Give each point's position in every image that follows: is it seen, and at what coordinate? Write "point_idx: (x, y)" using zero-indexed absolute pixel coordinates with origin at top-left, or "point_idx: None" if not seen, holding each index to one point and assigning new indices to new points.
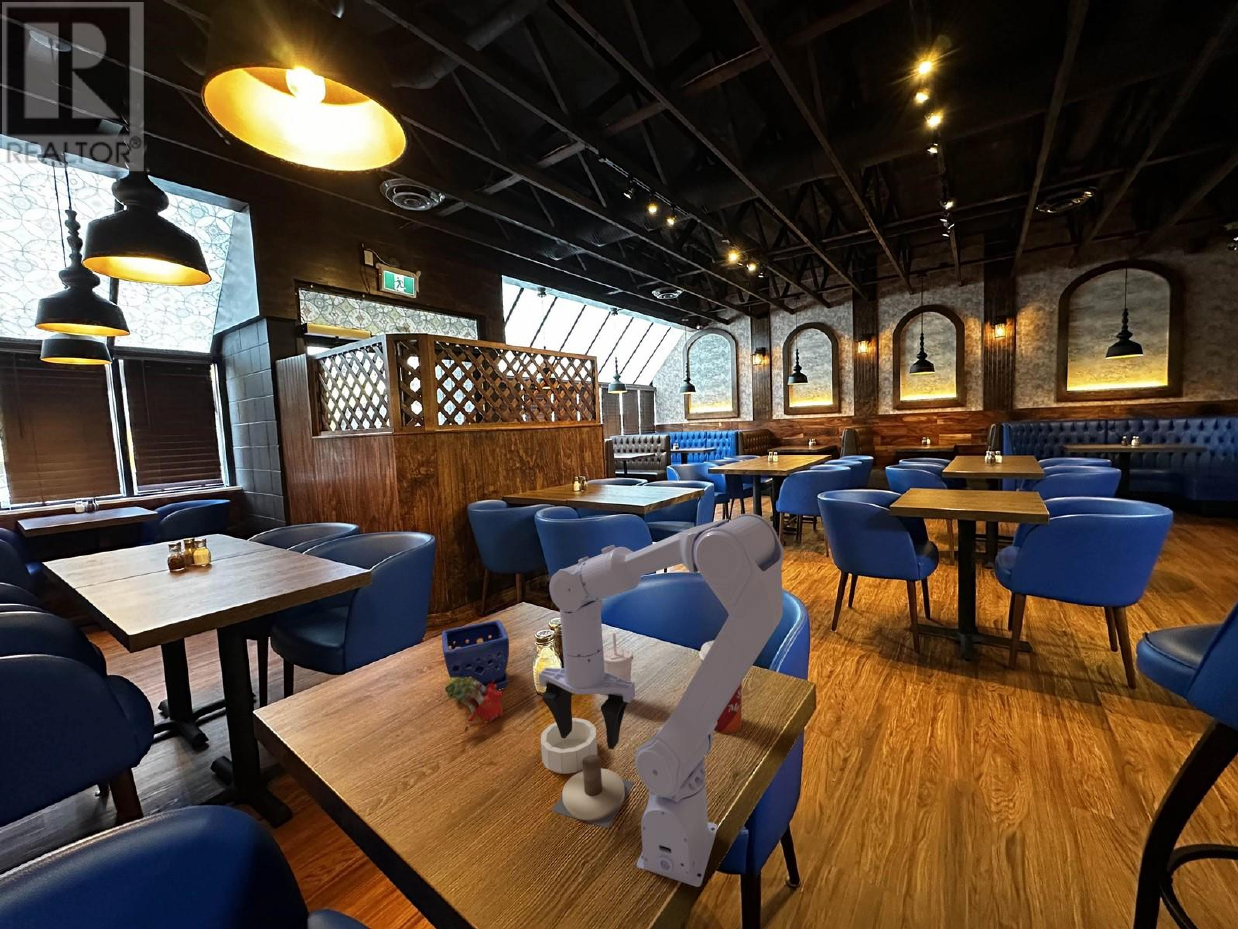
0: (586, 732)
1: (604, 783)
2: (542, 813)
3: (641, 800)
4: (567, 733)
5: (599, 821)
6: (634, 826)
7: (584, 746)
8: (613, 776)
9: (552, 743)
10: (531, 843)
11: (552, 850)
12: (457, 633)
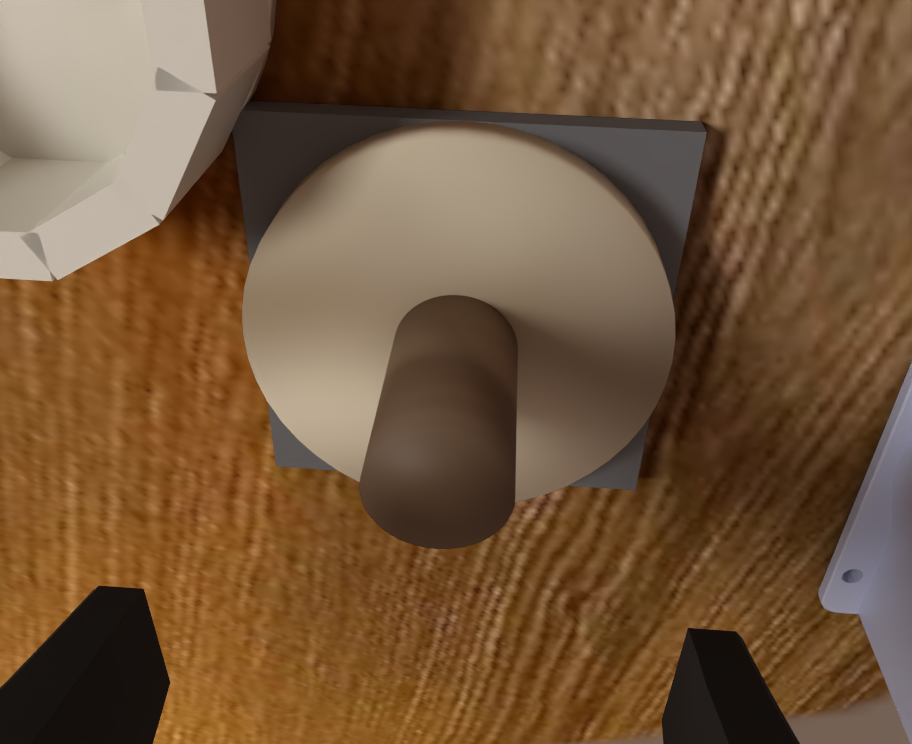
0: None
1: (507, 282)
2: (231, 450)
3: (778, 232)
4: (153, 673)
5: None
6: (765, 412)
7: (191, 144)
8: (549, 202)
9: None
10: (301, 580)
11: (410, 587)
12: None
